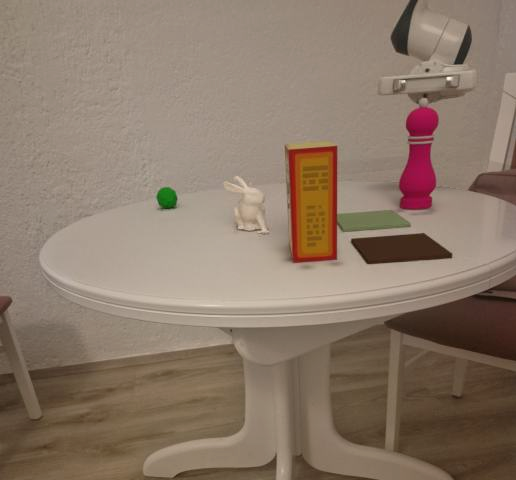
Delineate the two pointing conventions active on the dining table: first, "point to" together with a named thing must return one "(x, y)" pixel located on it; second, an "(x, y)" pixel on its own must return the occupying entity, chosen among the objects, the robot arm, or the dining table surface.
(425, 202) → the pepper mill
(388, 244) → the dark mat
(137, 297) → the dining table surface
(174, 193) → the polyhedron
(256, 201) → the rabbit figurine
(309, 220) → the baking soda box
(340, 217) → the sage mat
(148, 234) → the dining table surface
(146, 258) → the dining table surface
